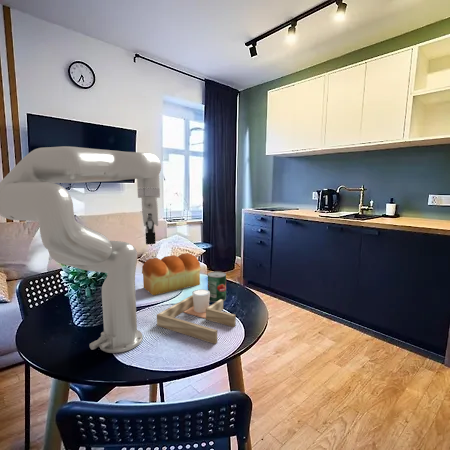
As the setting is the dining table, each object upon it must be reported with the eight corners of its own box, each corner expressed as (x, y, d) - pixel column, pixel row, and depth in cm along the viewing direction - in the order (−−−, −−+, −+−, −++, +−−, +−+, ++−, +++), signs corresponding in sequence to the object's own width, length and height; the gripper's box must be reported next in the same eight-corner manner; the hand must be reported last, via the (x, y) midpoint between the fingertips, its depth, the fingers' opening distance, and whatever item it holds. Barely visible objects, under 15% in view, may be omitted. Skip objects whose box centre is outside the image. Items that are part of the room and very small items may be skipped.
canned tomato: (208, 295, 126) (208, 271, 124) (226, 295, 125) (226, 271, 124) (206, 302, 118) (206, 276, 117) (225, 302, 118) (225, 277, 116)
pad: (205, 318, 103) (205, 317, 103) (183, 312, 108) (183, 311, 108) (219, 308, 112) (219, 307, 112) (198, 303, 117) (198, 302, 117)
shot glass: (209, 313, 107) (209, 295, 106) (191, 313, 107) (191, 295, 106) (210, 305, 113) (210, 289, 113) (193, 305, 114) (193, 288, 113)
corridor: (215, 344, 86) (215, 331, 86) (157, 325, 98) (156, 314, 97) (247, 315, 106) (247, 305, 105) (195, 302, 118) (195, 293, 117)
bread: (188, 278, 150) (188, 251, 148) (201, 284, 140) (200, 255, 138) (142, 288, 135) (141, 258, 133) (152, 296, 125) (151, 263, 123)
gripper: (161, 194, 92) (162, 245, 94) (158, 193, 108) (160, 237, 111) (136, 194, 90) (139, 246, 92) (138, 193, 106) (140, 237, 109)
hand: (150, 241), depth 101 cm, fingers open, 9 cm apart
